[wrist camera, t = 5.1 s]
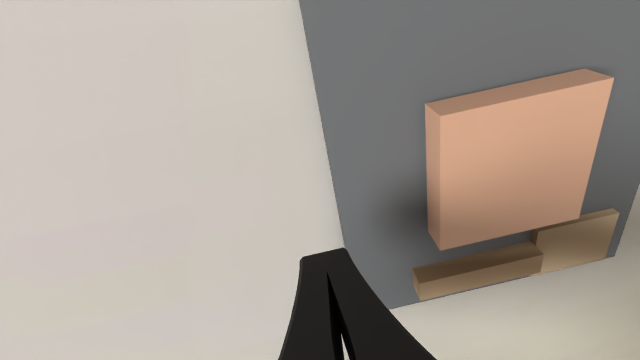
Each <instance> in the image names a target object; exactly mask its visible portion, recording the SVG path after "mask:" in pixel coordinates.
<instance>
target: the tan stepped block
mask: <svg viewBox="0 0 640 360" xmlns="http://www.w3.org/2000/svg"><path fill="white" fill-rule="evenodd" d="M618 216H619V212H618V211H616V210H615V209H613V208H611V209H606V210H602V211H598V212H593V213H589V214H585V215H580V216H579V219H574V220H570V221H566V222H561V223H557V224H553V225H549V226H544V227H540V228H536V229H532V235H531V240H530V241H527V242H523V243H518V244H514V245H510V246H506V247H501V248H497V249H493V250H488V251H484V252H480V253H476V254H471V255H467V256H463V257H459V258H454V259H450V260H446V261H441V262H437V263H433V264H429V265H424V266H420V267H416V268H412V276H413V286H414V288H415V290H416V293H417V295H418V297H419V299H420V301H422V300H427V299H431V298H435V297H439V296H443V295H448V294H452V293H456V292H460V291H465V290H469V289H473V288H477V287H482V286H486V285H490V284H494V283H498V282H503V281H507V280H511V279H515V278H520V277H524V276H528V275H529V276H534V275H539V274H543V273H547V272H551V271H556V270H560V269H564V268H568V267H572V266H577V265H581V264H585V263H589V262H594V261H598V260H602V259H605V256H606V253H607V250H608V247H609V244H610V241H611V238H612V235H613V232H614V229H615V226H616V223H617V219H618Z"/></svg>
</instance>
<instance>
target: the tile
mask: <svg viewBox="0 0 640 360" xmlns="http://www.w3.org/2000/svg"><path fill="white" fill-rule="evenodd" d="M613 81H614V77H611V76H607V75H604V74H601V73H598V72H595V71H591V70H588V69H585V68H584V69H579V70H575V71H570V72H566V73H561V74H557V75H552V76H548V77H543V78H538V79H534V80H529V81H525V82H520V83H516V84H511V85H507V86H502V87H498V88H493V89H489V90H484V91H480V92H475V93H470V94H466V95H461V96H457V97H452V98H448V99H443V100H439V101H434V102H430V103H425V127H426V170H427V212H428V232H429V234H430V235H431V237H432V238H433V240H434V242H435V243H436V245H437V246H438V248H439V250H440V251H441V250H446V249H450V248H454V247H458V246H463V245H467V244H471V243H476V242H480V241H484V240H488V239H493V238H497V237H501V236H506V235H510V234H514V233H519V232H523V231H527V230H531V229H536V228H540V227H544V226H549V225H553V224H557V223H561V222H566V221H570V220H574V219H579V215H580V211H581V207H582V203H583V199H584V195H585V191H586V187H587V183H588V179H589V176H590V172H591V168H592V164H593V160H594V156H595V152H596V148H597V144H598V140H599V136H600V132H601V128H602V124H603V120H604V116H605V112H606V109H607V105H608V101H609V97H610V93H611V89H612V85H613Z"/></svg>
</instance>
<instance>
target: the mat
mask: <svg viewBox="0 0 640 360" xmlns="http://www.w3.org/2000/svg"><path fill="white" fill-rule="evenodd" d="M299 3H300V8H301V13H302V19H303V24H304V30H305V35H306V40H307V46H308V51H309V57H310V62H311V67H312V73H313V78H314V84H315V89H316V94H317V100H318V105H319V111H320V116H321V121H322V127H323V132H324V138H325V143H326V148H327V154H328V159H329V164H330V170H331V175H332V181H333V186H334V191H335V197H336V202H337V208H338V213H339V218H340V224H341V229H342V235H343V240H344V245H345V249H346V250H347V251H348V253H349V255H350V257H351V259H352V261H353V262H354V264H355V266H356V267H357V269H358V270H359V272H360V273H361V275H362V276H363V278H364V279H365V281H366V282H367V283H368V285H369V286H370V287H371V289H372V290H373V291H374V293H375V294H376V295H377V296H378V298H379V299H380V300H381V301H382V303H383V304H384V305H385V306H386V307H387V309H388V310H389V309H394V308H398V307H402V306H406V305H410V304H415V303H419V302H423V301H427V300H432V299H436V298H440V297H444V296H448V295H453V294H457V293H461V292H465V291H470V290H474V289H478V288H482V287H486V286H491V285H495V284H499V283H503V282H508V281H512V280H516V279H520V278H525V277H529V275H528V276H524V277H520V278H515V279H511V280H507V281H503V282H498V283H494V284H490V285H486V286H482V287H477V288H473V289H469V290H465V291H460V292H456V293H452V294H448V295H443V296H439V297H435V298H431V299H427V300H422V301H420V299H419V297H418V295H417V293H416V290H415V288H414V286H413V276H412V268H416V267H420V266H424V265H429V264H433V263H437V262H441V261H446V260H450V259H454V258H459V257H463V256H467V255H471V254H476V253H480V252H484V251H488V250H493V249H497V248H501V247H506V246H510V245H514V244H518V243H523V242H527V241H530V240H531V235H532V229H531V230H527V231H523V232H519V233H514V234H510V235H506V236H501V237H497V238H493V239H488V240H484V241H480V242H476V243H471V244H467V245H463V246H458V247H454V248H450V249H446V250H441V251H440V250H439V248H438V246H437V245H436V243H435V242H434V240H433V238H432V237H431V235H430V234H429V232H428V212H427V170H426V127H425V103H430V102H434V101H439V100H443V99H448V98H452V97H457V96H461V95H466V94H470V93H475V92H480V91H484V90H489V89H493V88H498V87H502V86H507V85H511V84H516V83H520V82H525V81H529V80H534V79H538V78H543V77H548V76H552V75H557V74H561V73H566V72H570V71H575V70H579V69H584V68H585V69H588V70H591V71H595V72H598V73H601V74H604V75H607V76H611V77H614V81H613V85H612V89H611V93H610V97H609V101H608V105H607V109H606V112H605V116H604V120H603V124H602V128H601V132H600V136H599V140H598V144H597V148H596V152H595V156H594V160H593V164H592V168H591V172H590V176H589V179H588V183H587V187H586V191H585V195H584V199H583V203H582V207H581V211H580V215H585V214H589V213H593V212H598V211H602V210H606V209H611V208H613V209H615V210H616V211H618V212H619V216H618V219H617V223H616V226H615V229H614V232H613V235H612V238H611V241H610V244H609V247H608V250H607V253H606V256H605V258H609V257H613V256H615V253H616V250H617V247H618V244H619V241H620V238H621V235H622V232H623V229H624V226H625V224H626V221H627V218H628V215H629V212H630V209H631V206H632V203H633V200H634V197H635V194H636V192H637V189H638V186H639V183H640V0H299ZM580 215H579V216H580Z"/></svg>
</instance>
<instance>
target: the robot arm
mask: <svg viewBox="0 0 640 360" xmlns="http://www.w3.org/2000/svg"><path fill="white" fill-rule="evenodd" d="M341 334H342V337H343V340H344V343H345V347H346V350H347V353H348V356H349V359H350V360H437V359H435V358H434V357H433V356H432V355H431V354H430V353H429V352H428V351H427V350H426V349H425V348H424V347H423V346H422V345H421V344H420V343H419V342H418V341H417V340H416V339H415V338H414V337H413V336H412V335H411V334H410V333H409V332H408V331H407V330H406V329H405V328H404V327H403V326H402V325H401V323H400V322H399V321H398V320H397V319H396V318H395V317H394V316H393V314H392V313H391V312H390V311H389V310H388V309H387V307H386V306H385V305H384V304H383V303H382V301H381V300H380V299H379V298H378V296H377V295H376V294H375V293H374V291H373V290H372V289H371V287H370V286H369V285H368V283H367V282H366V281H365V279H364V278H363V276H362V275H361V273H360V272H359V270H358V269H357V267H356V266H355V264H354V262H353V261H352V259H351V257H350V255H349V253H348V251H347V250H346V249H345V248H339V249H335V250H331V251H326V252H322V253H318V254H313V255H309V256H305V257H302V259H301V260H300V270H299V279H298V286H297V291H296V297H295V301H294V306H293V310H292V314H291V319H290V323H289V326H288V330H287V333H286V336H285V340H284V343H283V347H282V350H281V353H280V356H279V359H278V360H344V353H343V345H342V337H341Z"/></svg>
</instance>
